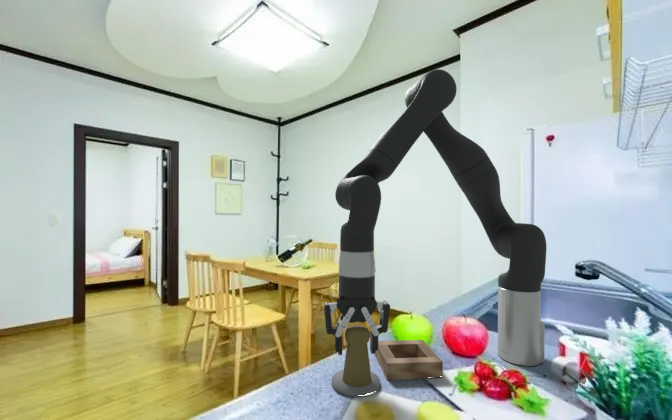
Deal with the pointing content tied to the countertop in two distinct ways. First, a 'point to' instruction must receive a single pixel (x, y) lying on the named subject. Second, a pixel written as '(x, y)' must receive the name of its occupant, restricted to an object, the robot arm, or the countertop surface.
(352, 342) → the brown pawn
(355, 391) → the coaster
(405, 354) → the pocket block
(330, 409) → the countertop surface
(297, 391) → the countertop surface
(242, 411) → the countertop surface
